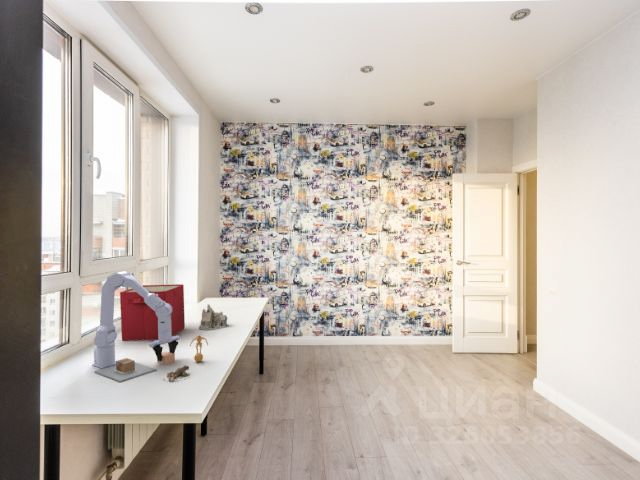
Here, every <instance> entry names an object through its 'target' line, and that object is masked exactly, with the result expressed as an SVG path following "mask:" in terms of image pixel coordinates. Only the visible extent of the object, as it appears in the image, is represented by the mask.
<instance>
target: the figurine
mask: <svg viewBox="0 0 640 480" xmlns="http://www.w3.org/2000/svg"><path fill="white" fill-rule="evenodd" d="M195 340H196V341H197V342H196V345H195V348H196V354H194V356H193V358H194V361H195V362H197V363H201V362H202V361H203V359H204V355H203V354H202V347H203V346H202V345H203V342H202V340H205V343H206V345H207V346H208V345H209V342H208V340H207V338H206V337H203V336H202V335H197V336H196V337H194V338H193V339H192V341H191V342H190V344H189V347H191V346H192V344H193V342H194V341H195Z"/></svg>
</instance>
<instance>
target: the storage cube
mask: <svg viewBox="0 0 640 480" xmlns="http://www.w3.org/2000/svg"><path fill="white" fill-rule="evenodd" d="M142 286H143V287H144V288H145V289H146V290H147V291H148V292H149V293H154V294H158V295H159V296H158V297H159V298H160V299H161V300H162V301H165V302H166V303H168V304H170V305H171V307H172V313H171V333H172V337H173V336H176V334H178V333H179V332H181V331H183V330H184V329H185V328H186V326H185V325H186V323H185V319H186V318H185V294H184V293H185V292H184V291H185V289H184V284H182V283H181V284H178V283H177V284H144V285H142ZM119 296H120V297H119V302H120V327H121V341H123V342H125V341H156V340H159V337H158V317H157V316H156V311H154V310H153V309H152V308H151V307H149V306H148V305H147V304H146V303H145V302H144V298H143V297H142V296H141V295H139V294H138V293H137V292H136V291H134V290H133V289H132V288H129V289H126V290H123V291H122V290H121V291H120V292H119ZM168 316H169V315H168Z"/></svg>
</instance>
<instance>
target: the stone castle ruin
mask: <svg viewBox="0 0 640 480" xmlns="http://www.w3.org/2000/svg"><path fill="white" fill-rule="evenodd" d="M206 308H207V309H205V308H204V309H202V313H201V320H200V325H199V327H198V330H199V331H204V332H205V331H212V330H219V329H224V328H226V327H229V326H228V316H227V314H223V311H220V312H215V310H214V309H213V308H212V307H211V304H210V303H209V304H207V307H206Z"/></svg>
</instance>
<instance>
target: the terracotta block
mask: <svg viewBox="0 0 640 480" xmlns="http://www.w3.org/2000/svg"><path fill="white" fill-rule="evenodd" d="M175 354H176V353H170V352H169V351H162V361H158V359H157V358H156V360H157V363H159V364H162V365H166V366H167V365H169V364H172V363H175V361H176V355H175Z"/></svg>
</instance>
